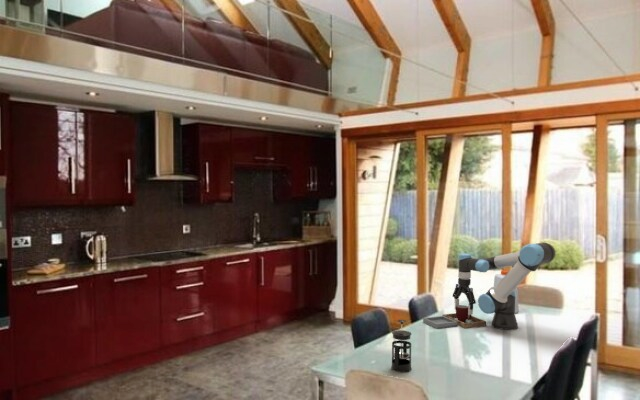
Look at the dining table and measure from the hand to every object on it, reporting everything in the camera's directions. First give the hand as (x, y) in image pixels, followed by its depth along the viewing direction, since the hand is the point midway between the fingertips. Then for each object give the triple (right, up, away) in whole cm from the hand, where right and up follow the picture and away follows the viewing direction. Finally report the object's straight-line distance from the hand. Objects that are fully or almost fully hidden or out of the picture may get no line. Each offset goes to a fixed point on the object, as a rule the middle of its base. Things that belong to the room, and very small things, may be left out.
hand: (463, 311), depth 317 cm
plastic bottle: (+37, -7, +29) cm, 48 cm away
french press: (-53, -9, -82) cm, 98 cm away
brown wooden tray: (0, -7, 0) cm, 7 cm away
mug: (0, -7, 0) cm, 7 cm away
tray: (-16, -7, -5) cm, 18 cm away
